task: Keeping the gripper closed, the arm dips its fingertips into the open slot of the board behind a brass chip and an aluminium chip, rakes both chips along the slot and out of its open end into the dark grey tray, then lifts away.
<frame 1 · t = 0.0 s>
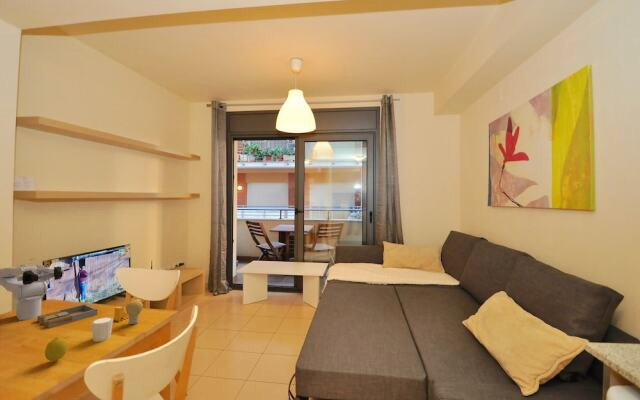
hand: (49, 276, 118), 22 cm above the table, tool horizontal, fingers open, 7 cm apart
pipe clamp: (126, 317, 133), on the table
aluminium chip: (62, 319, 125), point 1 cm above the table, touching slot board
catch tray: (78, 315, 131), resting on slot board
light bulb: (133, 323, 126), on the table
slot board: (43, 326, 120), on the table
brass chip: (50, 322, 122), point 1 cm above the table, touching slot board
lemon: (55, 362, 95), on the table
white cup: (101, 338, 112), on the table
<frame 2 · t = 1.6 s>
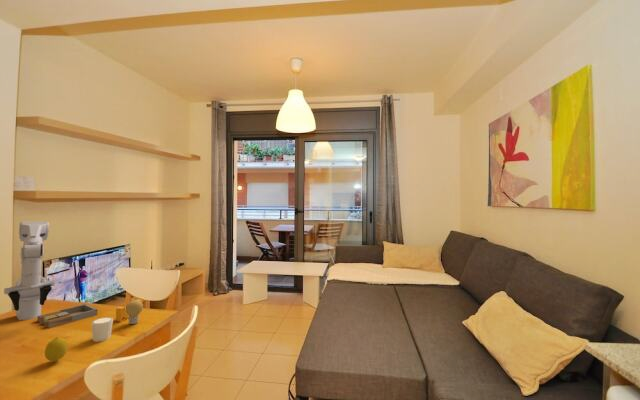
hand: (29, 307, 116), 9 cm above the table, tool pointing down, fingers open, 7 cm apart
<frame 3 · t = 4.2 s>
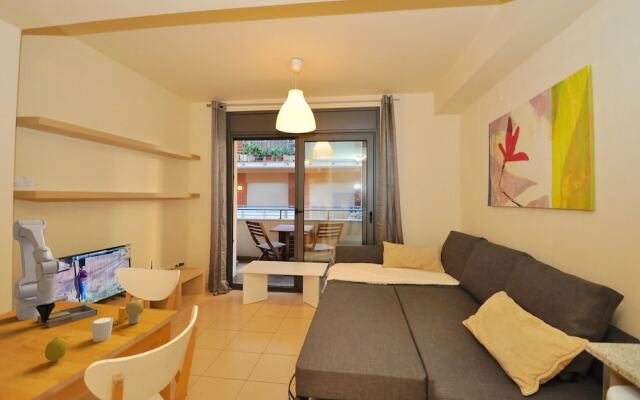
hand: (44, 321, 120), 2 cm above the table, tool pointing down, fingers closed
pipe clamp: (129, 318, 132), on the table
brass chip: (52, 321, 123), point 1 cm above the table, touching gripper
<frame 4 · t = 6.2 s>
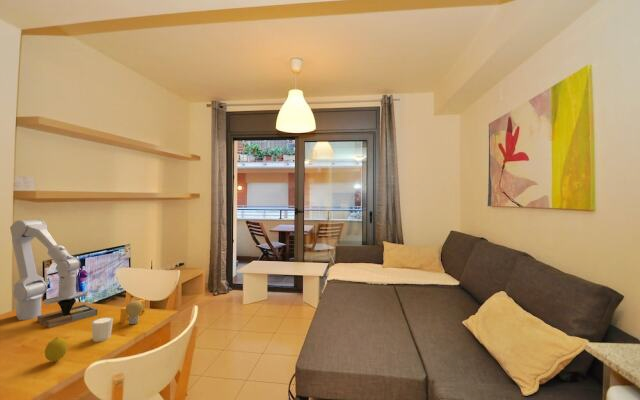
hand: (65, 316, 127), 2 cm above the table, tool pointing down, fingers closed
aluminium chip: (82, 314, 132), point 1 cm above the table, touching brass chip, slot board
brass chip: (73, 316, 129), point 1 cm above the table, touching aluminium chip, gripper, slot board
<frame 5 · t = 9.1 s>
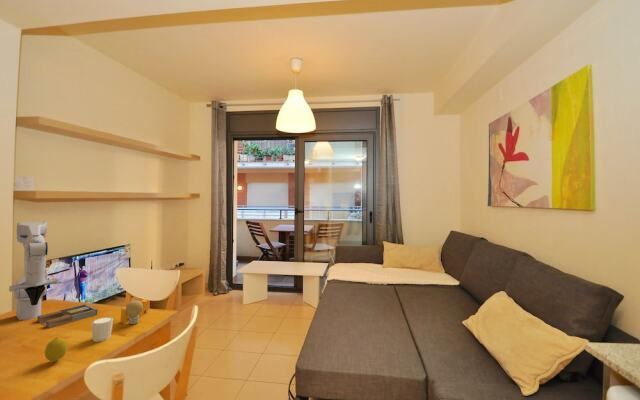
hand: (34, 304, 118), 10 cm above the table, tool pointing down, fingers closed
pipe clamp: (133, 318, 132), on the table, touching light bulb
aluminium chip: (82, 314, 132), point 1 cm above the table, touching slot board
light bulb: (133, 323, 126), on the table, touching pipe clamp
brass chip: (73, 316, 129), point 1 cm above the table, touching slot board
everything else where it was.
at the end: brass chip inside the target area (1.8 cm from its centre), point 0.8 cm above the table; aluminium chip inside the target area (1.7 cm from its centre), point 0.8 cm above the table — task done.
